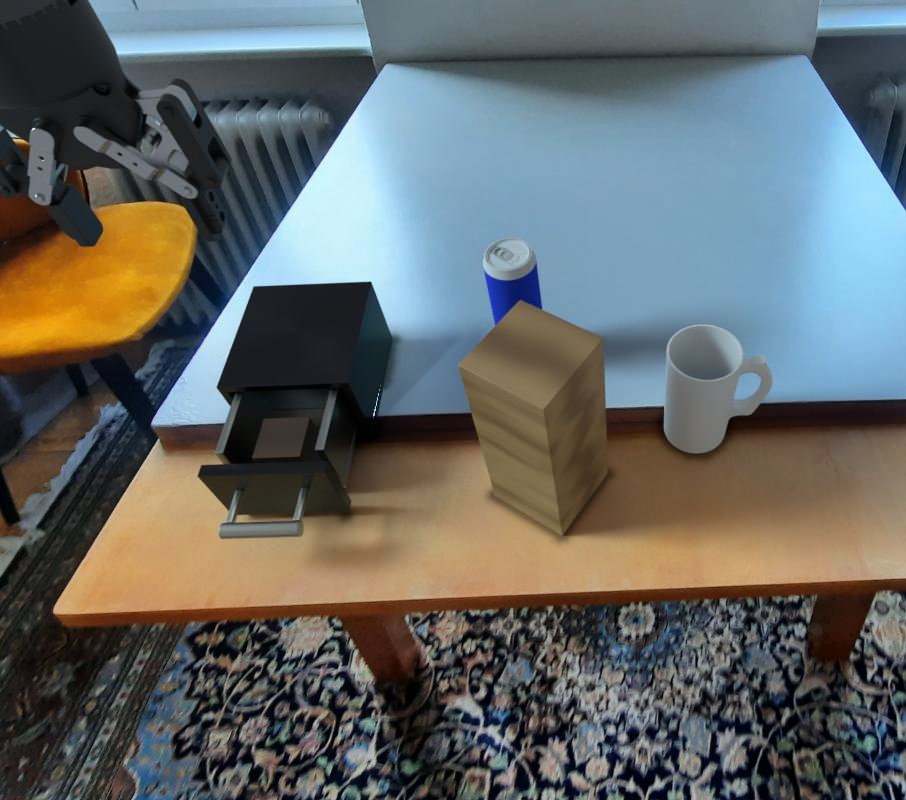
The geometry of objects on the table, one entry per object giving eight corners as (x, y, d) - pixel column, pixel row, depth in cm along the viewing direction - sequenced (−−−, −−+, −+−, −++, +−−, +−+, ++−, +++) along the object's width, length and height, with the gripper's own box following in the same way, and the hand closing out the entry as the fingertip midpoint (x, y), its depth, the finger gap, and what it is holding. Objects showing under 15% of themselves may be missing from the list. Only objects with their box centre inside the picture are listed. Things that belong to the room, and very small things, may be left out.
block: (316, 481, 71) (299, 456, 67) (270, 483, 71) (251, 458, 67) (325, 442, 73) (310, 416, 70) (281, 444, 74) (263, 418, 70)
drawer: (340, 557, 67) (313, 520, 61) (218, 561, 67) (179, 524, 62) (371, 406, 77) (350, 362, 72) (264, 410, 78) (235, 366, 72)
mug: (662, 456, 73) (668, 382, 63) (659, 402, 77) (664, 324, 67) (764, 455, 72) (786, 380, 63) (756, 401, 76) (775, 322, 67)
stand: (562, 536, 68) (543, 409, 52) (494, 496, 71) (457, 364, 55) (608, 473, 72) (603, 337, 56) (542, 438, 75) (520, 299, 59)
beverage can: (556, 349, 82) (545, 246, 70) (530, 380, 80) (514, 279, 68) (519, 332, 84) (502, 229, 72) (492, 362, 81) (470, 260, 69)
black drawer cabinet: (374, 437, 76) (347, 382, 69) (254, 441, 76) (216, 387, 69) (393, 338, 84) (371, 281, 77) (285, 343, 85) (253, 286, 77)
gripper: (-188, 32, 35) (30, 279, 48) (101, 16, 35) (243, 270, 48) (-102, -37, 40) (76, 206, 53) (155, -52, 39) (271, 197, 52)
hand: (155, 236), depth 50 cm, fingers open, 8 cm apart
